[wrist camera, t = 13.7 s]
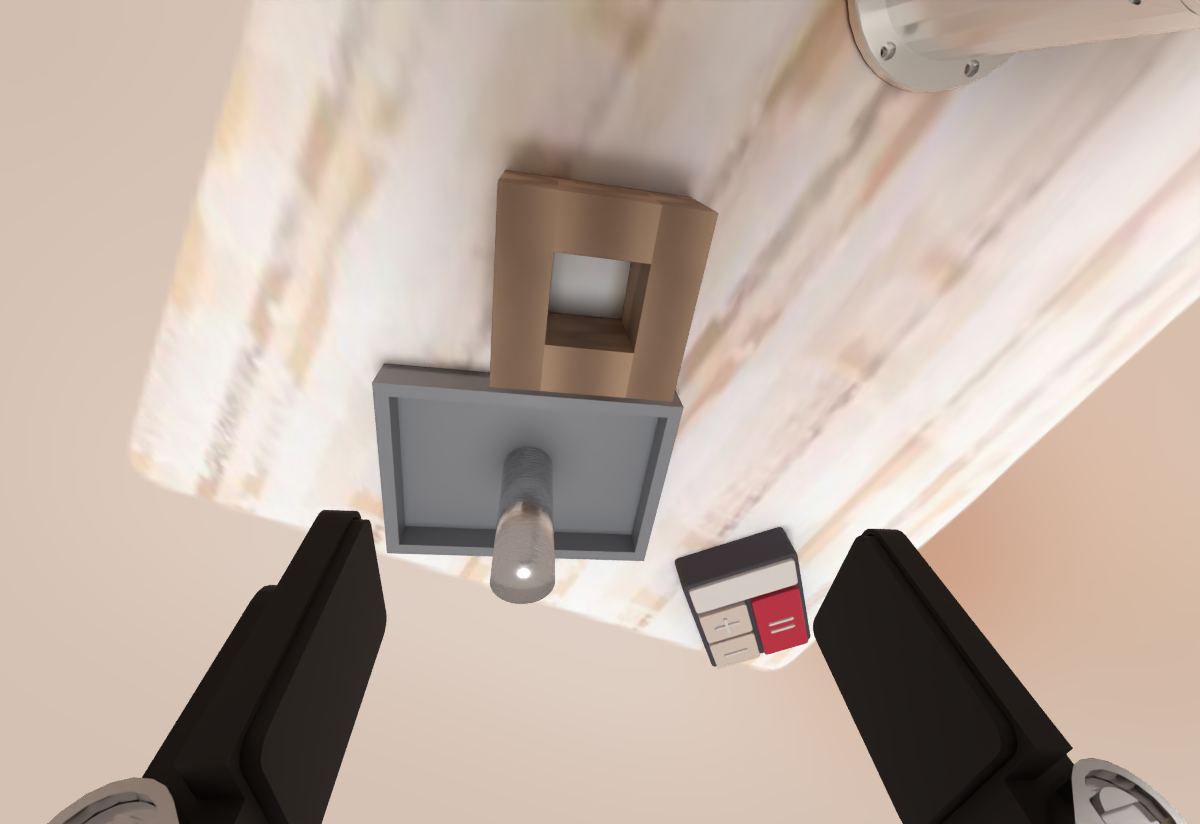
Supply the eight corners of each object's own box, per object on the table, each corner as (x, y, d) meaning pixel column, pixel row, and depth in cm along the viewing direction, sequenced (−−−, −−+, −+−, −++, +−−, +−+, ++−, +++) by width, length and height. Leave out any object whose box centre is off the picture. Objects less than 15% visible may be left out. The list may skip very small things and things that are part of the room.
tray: (674, 388, 40) (683, 407, 38) (638, 537, 48) (643, 561, 46) (384, 363, 37) (372, 382, 34) (396, 527, 45) (387, 553, 42)
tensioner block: (691, 197, 33) (718, 213, 28) (655, 363, 39) (672, 401, 34) (505, 170, 31) (497, 181, 26) (496, 348, 37) (489, 386, 32)
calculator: (714, 674, 55) (684, 594, 47) (703, 638, 59) (673, 557, 51) (814, 645, 54) (801, 559, 46) (796, 610, 58) (781, 524, 50)
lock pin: (554, 448, 41) (558, 560, 31) (550, 487, 43) (551, 604, 33) (505, 445, 41) (491, 558, 30) (502, 484, 43) (488, 603, 32)
